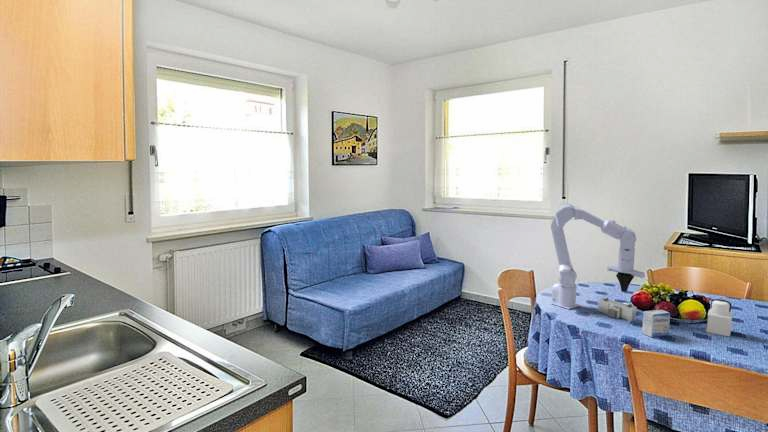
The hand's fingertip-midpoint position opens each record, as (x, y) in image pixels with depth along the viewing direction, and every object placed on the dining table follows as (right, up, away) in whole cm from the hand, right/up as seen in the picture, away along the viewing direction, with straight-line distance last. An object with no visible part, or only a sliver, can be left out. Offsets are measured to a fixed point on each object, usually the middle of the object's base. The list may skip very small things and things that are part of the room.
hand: (624, 291), depth 189 cm
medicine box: (0, -13, -21) cm, 25 cm away
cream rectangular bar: (-1, -10, 0) cm, 10 cm away
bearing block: (-4, -10, -1) cm, 11 cm away
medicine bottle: (+25, -12, -19) cm, 34 cm away
